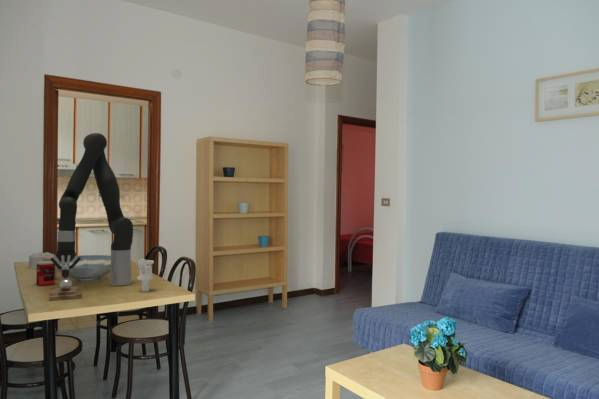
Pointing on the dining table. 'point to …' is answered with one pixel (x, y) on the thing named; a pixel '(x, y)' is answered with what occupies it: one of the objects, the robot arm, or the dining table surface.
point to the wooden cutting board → (65, 293)
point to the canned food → (45, 273)
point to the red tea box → (48, 258)
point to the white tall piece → (145, 273)
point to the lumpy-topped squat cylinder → (37, 258)
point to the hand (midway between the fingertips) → (65, 277)
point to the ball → (65, 284)
